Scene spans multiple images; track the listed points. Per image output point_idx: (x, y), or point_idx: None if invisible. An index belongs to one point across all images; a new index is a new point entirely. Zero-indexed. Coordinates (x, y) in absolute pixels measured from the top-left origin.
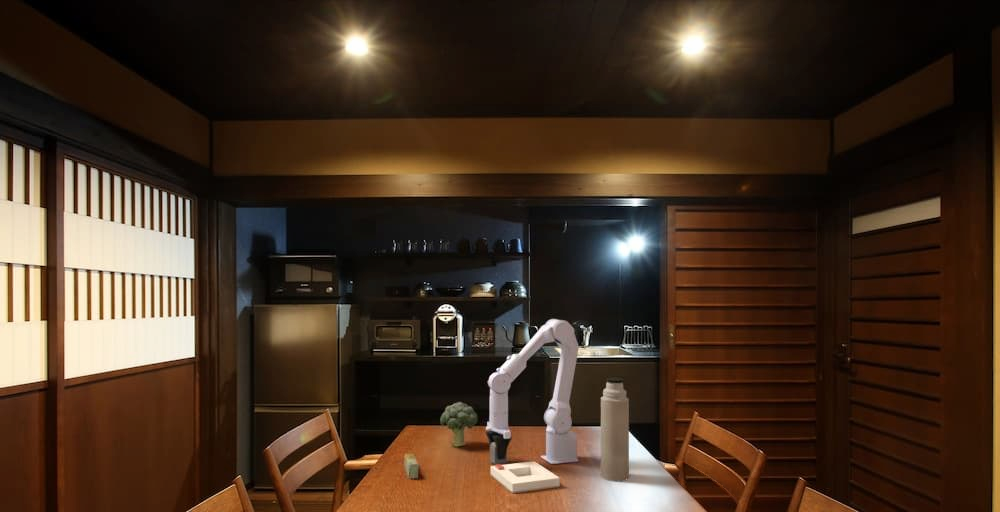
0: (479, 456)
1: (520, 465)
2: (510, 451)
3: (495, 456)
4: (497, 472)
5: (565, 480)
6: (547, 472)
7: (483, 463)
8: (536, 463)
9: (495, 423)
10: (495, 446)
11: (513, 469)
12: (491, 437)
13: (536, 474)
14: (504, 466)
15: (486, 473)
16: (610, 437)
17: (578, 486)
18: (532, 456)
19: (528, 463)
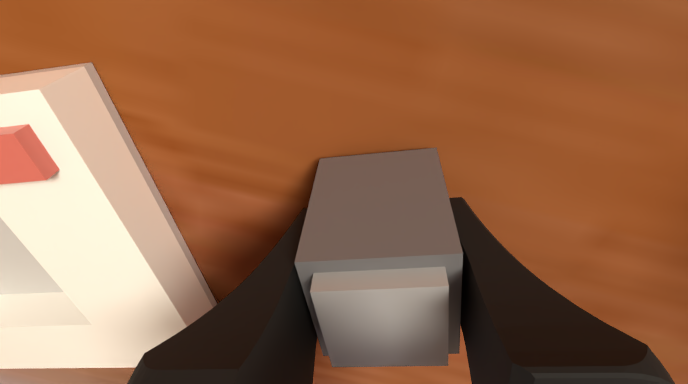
0: (669, 94)
1: (112, 292)
2: (630, 324)
3: (312, 204)
4: None
5: None
6: (7, 357)
7: (426, 78)
8: None
9: None
10: (312, 278)
11: (22, 235)
12: (491, 344)
13: (24, 311)
14: (63, 199)
15: (124, 34)
16: None
17: (10, 375)
18: (461, 375)
19: (163, 335)
